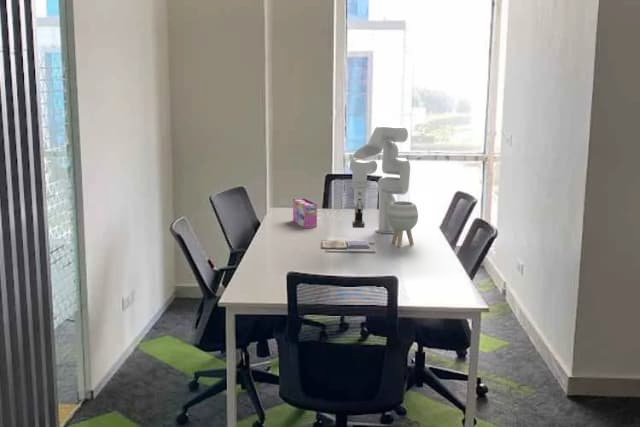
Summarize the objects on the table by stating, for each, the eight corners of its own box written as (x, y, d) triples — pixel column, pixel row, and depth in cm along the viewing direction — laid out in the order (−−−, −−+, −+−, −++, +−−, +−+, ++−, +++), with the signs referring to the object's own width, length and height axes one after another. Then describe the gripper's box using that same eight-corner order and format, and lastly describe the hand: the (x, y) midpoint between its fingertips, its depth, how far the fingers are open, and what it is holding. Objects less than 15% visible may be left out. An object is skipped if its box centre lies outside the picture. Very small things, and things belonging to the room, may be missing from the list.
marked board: (346, 242, 374) (346, 240, 374) (347, 249, 359) (347, 247, 359) (321, 241, 374) (322, 240, 374) (321, 248, 359) (321, 247, 359)
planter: (397, 249, 359) (398, 206, 355) (380, 243, 373) (381, 201, 369) (423, 246, 366) (424, 204, 362) (405, 240, 380) (406, 199, 376)
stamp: (363, 225, 367) (364, 201, 365) (364, 227, 362) (365, 203, 359) (352, 225, 367) (352, 201, 365) (352, 227, 362) (353, 203, 359)
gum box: (291, 220, 431) (291, 198, 429) (304, 219, 434) (304, 198, 431) (304, 228, 409) (304, 205, 407) (317, 227, 412) (317, 204, 409)
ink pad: (368, 243, 372) (368, 240, 372) (369, 248, 361) (369, 245, 361) (347, 243, 372) (347, 240, 372) (348, 248, 361) (348, 245, 361)
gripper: (367, 187, 352) (366, 222, 356) (365, 182, 369) (364, 216, 372) (352, 187, 352) (352, 222, 356) (351, 182, 369) (350, 216, 372)
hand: (358, 219), depth 364 cm, fingers closed on stamp, 4 cm apart
